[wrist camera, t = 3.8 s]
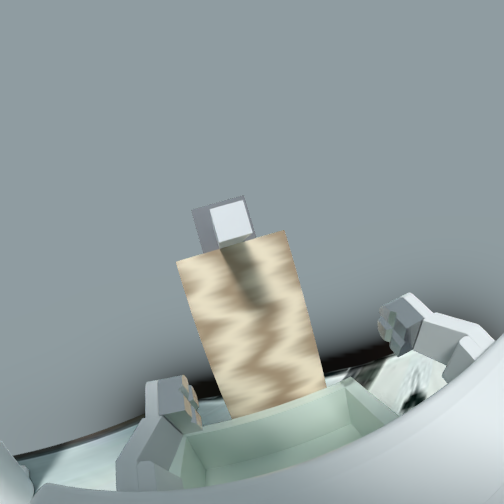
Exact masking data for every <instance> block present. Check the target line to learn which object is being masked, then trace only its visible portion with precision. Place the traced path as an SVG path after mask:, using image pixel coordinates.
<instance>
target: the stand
mask: <svg viewBox="0 0 504 504" xmlns="http://www.w3.org/2000/svg"><path fill="white" fill-rule="evenodd" d="M176 264H177V267H178V271H179V274H180V277H181V281H182V283H183V287H184V290H185V294H186V296H187V299H188V303H189V306H190V309H191V312H192V315H193V318H194V321H195V324H196V327H197V330H198V333H199V336H200V338H201V341H202V344H203V347H204V349H205V352H206V355H207V357H208V360H209V363H210V366H211V368H212V371H213V373H214V376H215V379H216V381H217V384H218V386H219V389H220V391H221V394H222V396H223V399H224V401H225V404H226V406H227V408H228V411H229V413H230V415H231V418H232V419H235V418H239V417H242V416H246V415H249V414H253V413H256V412H260V411H263V410H266V409H269V408H272V407H276V406H279V405H282V404H284V403H287V402H290V401H293V400H296V399H299V398H301V397H304V396H307V395H309V394H312V393H314V392H317V391H319V390H322V389H324V388H327V387H326V383H325V379H324V374H323V370H322V366H321V362H320V358H319V354H318V350H317V346H316V342H315V338H314V334H313V330H312V327H311V323H310V319H309V315H308V312H307V308H306V304H305V301H304V297H303V293H302V290H301V286H300V282H299V279H298V275H297V272H296V268H295V265H294V261H293V258H292V254H291V251H290V248H289V244H288V241H287V237H286V234H285V231H284V230H283V231H279V232H276V233H272V234H269V235H265V236H262V237H258V238H255V239H251V240H248V241H245V242H241V243H238V244H234V245H231V246H228V247H224V248H221V249H217V250H214V251H211V252H207V253H204V254H201V255H197V256H194V257H191V258H187V259H184V260H181V261H177V262H176Z"/></svg>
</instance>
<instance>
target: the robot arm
mask: <svg viewBox="0 0 504 504" xmlns="http://www.w3.org/2000/svg"><path fill="white" fill-rule="evenodd" d="M380 314H381V317H380V318H379V320H378V330H379V333H380V335H381V337H382V338H383V339H384V340H385V341H388V342H390V348H391V349H392V350H393V352H394V353H395V354H396V355H397V357H400V356H401V355H403V354H405V353H407V352H409V351H411V350H412V349H413V350H414V351H416V352H418V353H421V354H423V355H425V356H427V357H429V358H431V359H434V360H436V361H438V362H440V363H442V364H444V365H447V366H446V368H445V370H444V372H443V374H442V377H443V378H444V380H445V381H446V382H447V383H448V384H447V385H445V386H444V387H443V388H441V389H440V390H439V391H437V392H436V393H434V394H433V395H432V396H430V397H429V398H427V399H426V400H424V401H423V402H422V403H420V404H419V405H417V406H416V407H414V408H412V409H411V410H409V411H408V412H406V413H405V414H403V415H401V416H400V417H398V418H396V419H395V420H393V421H391V422H389V423H388V424H386V425H384V426H382V427H381V428H379V429H377V430H375V431H373V432H371V433H369V434H367V435H365V436H363V437H361V438H359V439H357V440H355V441H353V442H351V443H349V444H347V445H344V446H342V447H340V448H338V449H335V450H333V451H331V452H328V453H326V454H323V455H321V456H318V457H316V458H313V459H310V460H308V461H305V462H302V463H299V464H296V465H293V466H290V467H287V468H284V469H281V470H278V471H274V472H271V473H267V474H264V475H260V476H256V477H252V478H248V479H243V480H239V481H234V482H229V483H224V484H218V485H212V486H206V487H198V488H190V489H184V488H183V483H182V479H181V478H180V477H178V476H176V475H174V474H172V473H171V472H169V469H170V467H171V464H172V462H173V459H174V457H175V455H176V452H177V450H178V447H179V445H180V443H181V440H182V438H183V435H184V434H189V433H193V432H198V431H202V430H203V427H202V421H201V416H200V415H199V414H198V412H197V410H198V408H199V403H198V399H197V396H196V393H195V391H194V389H193V387H192V386H191V385H188V381H187V378H186V377H185V376H184V375H181V376H176V377H171V378H166V379H161V380H156V381H150V382H147V383H146V387H145V417H146V418H142V420H141V421H140V423H139V424H138V426H137V428H136V429H135V431H134V432H133V434H132V436H131V437H130V439H129V441H128V442H127V444H126V445H125V447H124V449H123V450H122V452H121V454H120V455H119V457H118V458H117V460H116V489H117V491H104V490H92V489H83V488H75V487H68V486H63V485H57V484H51V483H46V484H44V485H43V486H42V487H41V488H40V489H39V490H38V491H37V492H36V494H35V495H34V496H33V494H34V486H33V483H32V482H31V480H30V478H29V470H28V468H27V467H26V466H24V465H19V464H18V462H17V461H16V460H15V458H14V457H13V456H12V455H11V453H10V452H9V451H8V449H7V448H6V447H5V445H4V444H3V442H2V441H1V440H0V504H504V333H503V334H502V335H501V337H499V338H498V340H497V341H495V340H493V339H492V337H491V336H489V334H488V333H487V332H486V331H484V329H482V328H481V327H480V326H479V325H478V324H475V323H471V322H468V321H464V320H461V319H457V318H454V317H450V316H447V315H443V314H440V313H436V312H435V313H434V314H433V313H432V312H431V311H430V310H429V309H428V308H427V307H426V306H425V305H424V304H423V303H422V302H421V301H420V300H419V299H417V298H416V297H415V296H414V295H413V294H412V293H407V294H405V295H403V296H401V297H399V298H397V299H395V300H393V301H391V302H389V303H387V304H385V305H382V306H381V308H380Z"/></svg>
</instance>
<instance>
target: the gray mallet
mask: <svg viewBox="0 0 504 504" xmlns="http://www.w3.org/2000/svg"><path fill="white" fill-rule="evenodd" d="M192 214H193V218H194V222H195V225H196V229H197V232H198V236H199V239H200V243H201V247H202V250H203V254H204V253H207V252H211V251H214V250H217V249H221V248H224V247H228V246H231V245H234V244H238V243H241V242H245V241H248V240H251V239H255V238H256V235H255V231H254V228H253V225H252V221H251V218H250V215H249V212H248V208H247V205H246V201H245V198H244V196H240V197H236V198H232V199H228V200H225V201H221V202H218V203H214V204H210V205H207V206H204V207H200V208H197V209H193V210H192Z"/></svg>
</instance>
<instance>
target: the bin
mask: <svg viewBox="0 0 504 504" xmlns="http://www.w3.org/2000/svg"><path fill="white" fill-rule="evenodd" d="M398 417H399V416H398V415H397V414H395V413H394V412H393V411H392V410H391V409H389V408H388V407H387V406H386V405H384V404H383V403H382V402H381V401H379V400H378V399H377V398H376V397H375V396H373V395H372V394H371V393H370V392H368V391H367V390H366V389H365V388H364V387H362V386H361V385H360V384H359V383H358V382H356V381H355V380H354V379H353V378H352V377H349V378H347V379H345V380H343V381H341V382H338V383H336V384H334V385H331V386H329V387H327V388H324V389H322V390H319V391H317V392H314V393H312V394H309V395H307V396H304V397H301V398H299V399H296V400H293V401H290V402H287V403H284V404H282V405H279V406H276V407H272V408H269V409H266V410H263V411H260V412H256V413H253V414H249V415H246V416H242V417H239V418H235V419H231V420H227V421H223V422H219V423H215V424H210V425H206V426H202V427H203V430H202V431H198V432H193V433H189V434H184V435H183V438H182V440H181V443H180V445H179V447H178V450H177V452H176V455H175V457H174V459H173V462H172V464H171V467H170V469H169V472H171V473H172V474H174V475H176V476H178V477H180V478H181V479H182V483H183V488H184V489H190V488H198V487H206V486H212V485H218V484H224V483H229V482H234V481H239V480H243V479H248V478H252V477H256V476H260V475H264V474H267V473H271V472H274V471H278V470H281V469H284V468H287V467H290V466H293V465H296V464H299V463H302V462H305V461H308V460H310V459H313V458H316V457H318V456H321V455H323V454H326V453H328V452H331V451H333V450H335V449H338V448H340V447H342V446H344V445H347V444H349V443H351V442H353V441H355V440H357V439H359V438H361V437H363V436H365V435H367V434H369V433H371V432H373V431H375V430H377V429H379V428H381V427H382V426H384V425H386V424H388V423H389V422H391V421H393V420H395V419H396V418H398Z"/></svg>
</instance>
